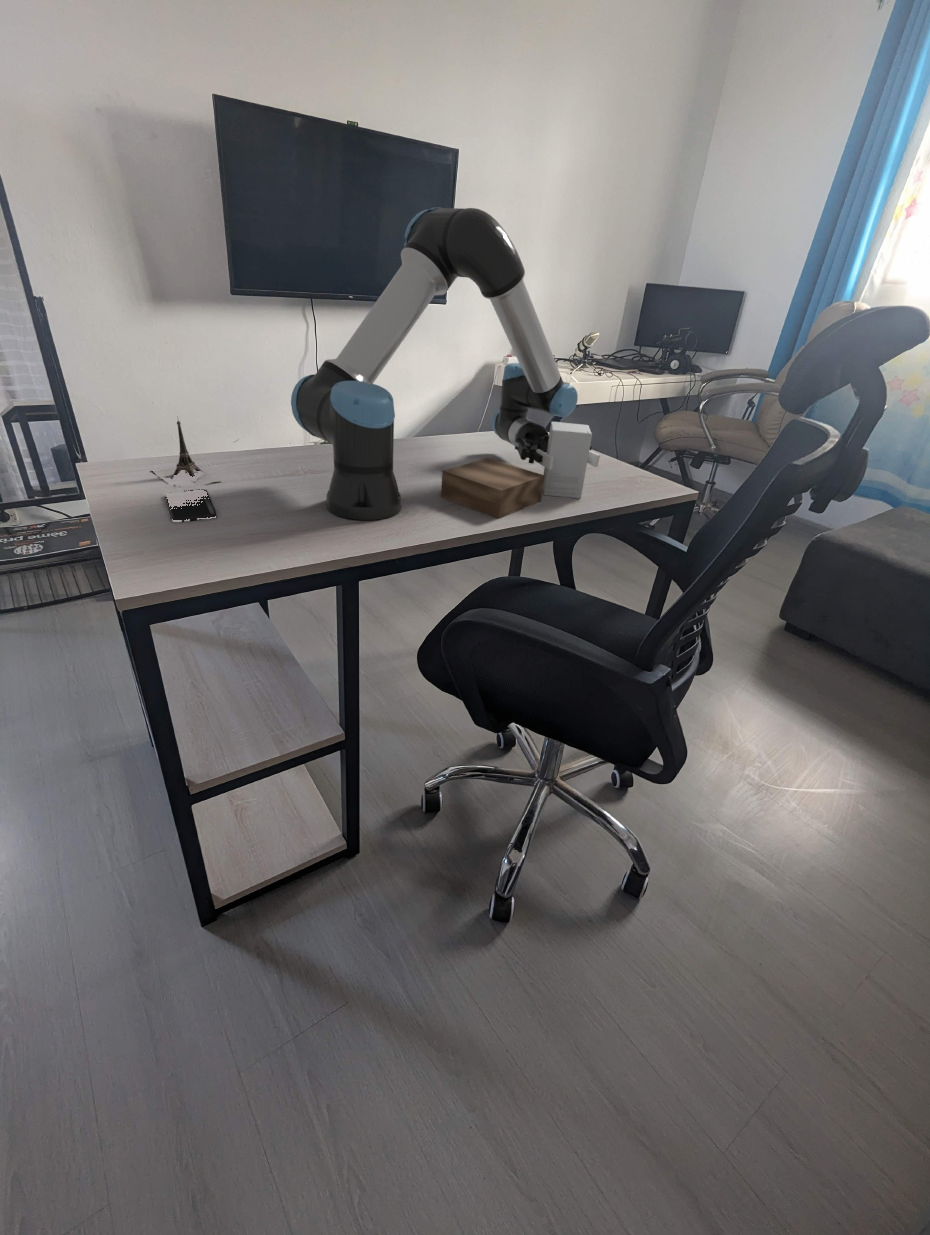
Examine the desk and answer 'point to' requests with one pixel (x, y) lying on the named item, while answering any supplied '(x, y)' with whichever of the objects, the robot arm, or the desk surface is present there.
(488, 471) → the walnut stand
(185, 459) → the eiffel tower figurine
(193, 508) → the phone
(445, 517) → the desk surface
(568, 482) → the supplement box
